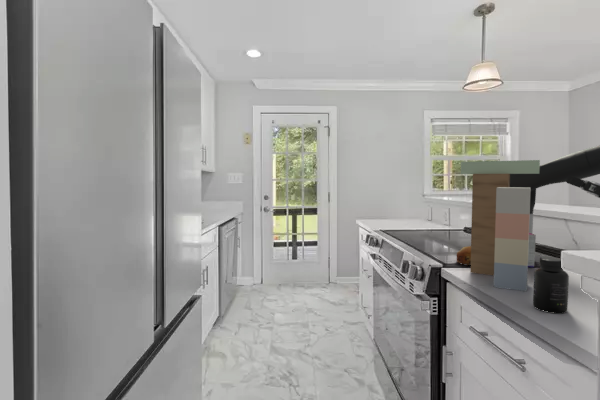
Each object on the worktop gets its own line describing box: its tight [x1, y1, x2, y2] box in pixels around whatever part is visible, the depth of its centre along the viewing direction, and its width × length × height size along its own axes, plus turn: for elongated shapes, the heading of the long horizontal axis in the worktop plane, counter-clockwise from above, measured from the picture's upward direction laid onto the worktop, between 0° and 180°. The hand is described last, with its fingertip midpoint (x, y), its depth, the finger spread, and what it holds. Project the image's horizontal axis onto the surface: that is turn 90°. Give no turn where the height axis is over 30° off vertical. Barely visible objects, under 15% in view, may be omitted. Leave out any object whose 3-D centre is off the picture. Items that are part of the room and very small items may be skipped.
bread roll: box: [456, 245, 471, 266], centre depth 137 cm, size 10×10×8 cm
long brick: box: [460, 159, 541, 175], centre depth 121 cm, size 4×22×4 cm, turn 58°
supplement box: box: [528, 233, 537, 269], centre depth 133 cm, size 6×6×12 cm
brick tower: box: [493, 187, 531, 292], centre depth 108 cm, size 8×8×28 cm
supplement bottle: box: [532, 256, 570, 314], centre depth 89 cm, size 7×7×12 cm
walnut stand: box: [469, 174, 510, 276], centre depth 123 cm, size 8×10×32 cm
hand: (567, 178), depth 113 cm, fingers open, 8 cm apart
